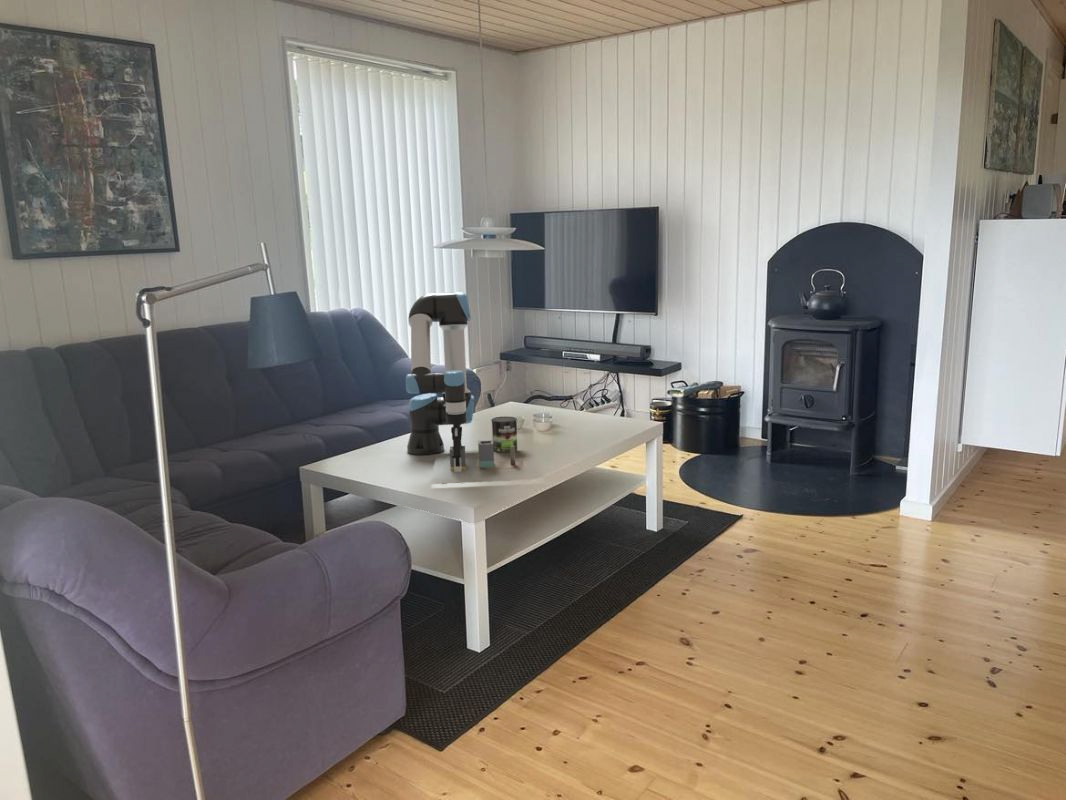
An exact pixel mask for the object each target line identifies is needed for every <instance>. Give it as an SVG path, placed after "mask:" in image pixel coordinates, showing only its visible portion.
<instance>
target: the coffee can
mask: <svg viewBox="0 0 1066 800" xmlns="http://www.w3.org/2000/svg"><path fill="white" fill-rule="evenodd" d="M490 420H491V433H492V435H491V436H492V437H491V438H492V439H491V440H493V448H494V453H510V446H515V452H517V451H518V424H517V421H518V420H517V417H515V416H496V417H493V418H491V419H490Z"/></svg>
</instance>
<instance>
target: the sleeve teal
mask: <svg viewBox="0 0 1066 800" xmlns="http://www.w3.org/2000/svg"><path fill="white" fill-rule="evenodd" d="M477 442H478V444H477V447H478V462H479V468H487V467H494V462H495V452H494V448H493V440H492V439H490V440H478V441H477Z"/></svg>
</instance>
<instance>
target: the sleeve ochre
mask: <svg viewBox="0 0 1066 800" xmlns="http://www.w3.org/2000/svg"><path fill="white" fill-rule="evenodd" d="M460 452H461V466H462V470H466V468H467V461H466V460H467V458H466V457H467V456H466V455H467V454H466V445H462V446H460ZM453 455H454V450H453V446H449V462H450V463H449V464H450V467H449V468H450V471H451V470H452V471H454V458H452V456H453Z"/></svg>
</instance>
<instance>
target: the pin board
mask: <svg viewBox="0 0 1066 800" xmlns="http://www.w3.org/2000/svg"><path fill="white" fill-rule="evenodd" d="M509 456H510V460H501V461H500V460H499V461H494V467H487V468H479V461H478V462H475V470H478V471H479V470H480V471H481V470H498V469H499V470H501V469H504V470H505V469H520V468H521V469H523V468H524V469H525V463H524V460H523V459H522V460H516V451H515V446H510V452H509Z"/></svg>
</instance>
